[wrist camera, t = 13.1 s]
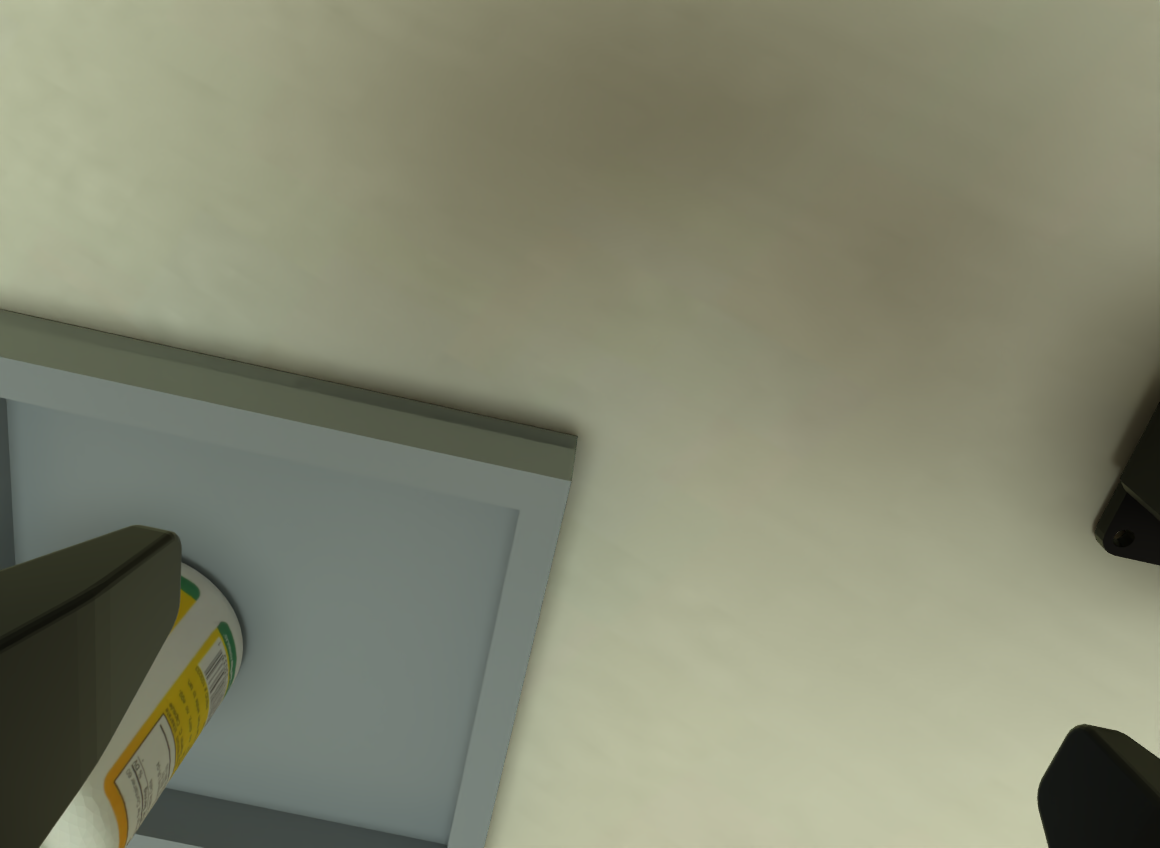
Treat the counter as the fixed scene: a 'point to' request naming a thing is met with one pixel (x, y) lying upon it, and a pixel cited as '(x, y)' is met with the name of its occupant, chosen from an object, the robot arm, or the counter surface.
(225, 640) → the supplement bottle
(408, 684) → the tray
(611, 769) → the counter surface
